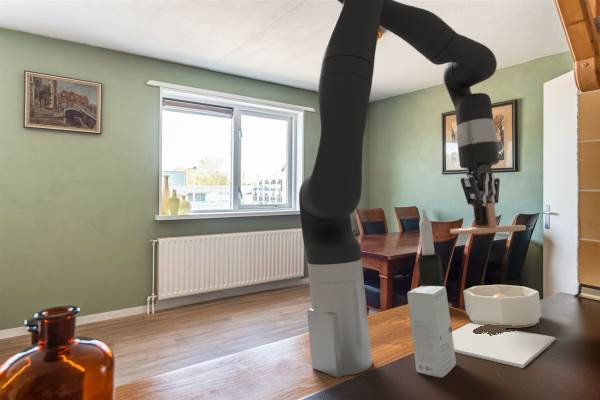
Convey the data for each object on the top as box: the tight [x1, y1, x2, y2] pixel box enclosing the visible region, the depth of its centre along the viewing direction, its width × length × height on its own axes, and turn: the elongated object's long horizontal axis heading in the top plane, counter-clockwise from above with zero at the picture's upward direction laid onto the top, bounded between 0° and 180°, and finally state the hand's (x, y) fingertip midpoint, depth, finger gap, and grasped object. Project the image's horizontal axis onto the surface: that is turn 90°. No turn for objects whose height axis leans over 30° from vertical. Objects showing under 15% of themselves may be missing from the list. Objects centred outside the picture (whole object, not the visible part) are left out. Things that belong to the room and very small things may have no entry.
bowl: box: [462, 284, 543, 326], centre depth 75 cm, size 13×13×6 cm
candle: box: [417, 208, 445, 287], centre depth 90 cm, size 5×5×25 cm
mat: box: [452, 322, 556, 369], centre depth 62 cm, size 15×15×1 cm
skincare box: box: [406, 286, 457, 378], centre depth 55 cm, size 6×4×12 cm
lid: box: [449, 203, 527, 235], centre depth 74 cm, size 14×14×6 cm
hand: (485, 224), depth 74 cm, fingers closed on lid, 3 cm apart
